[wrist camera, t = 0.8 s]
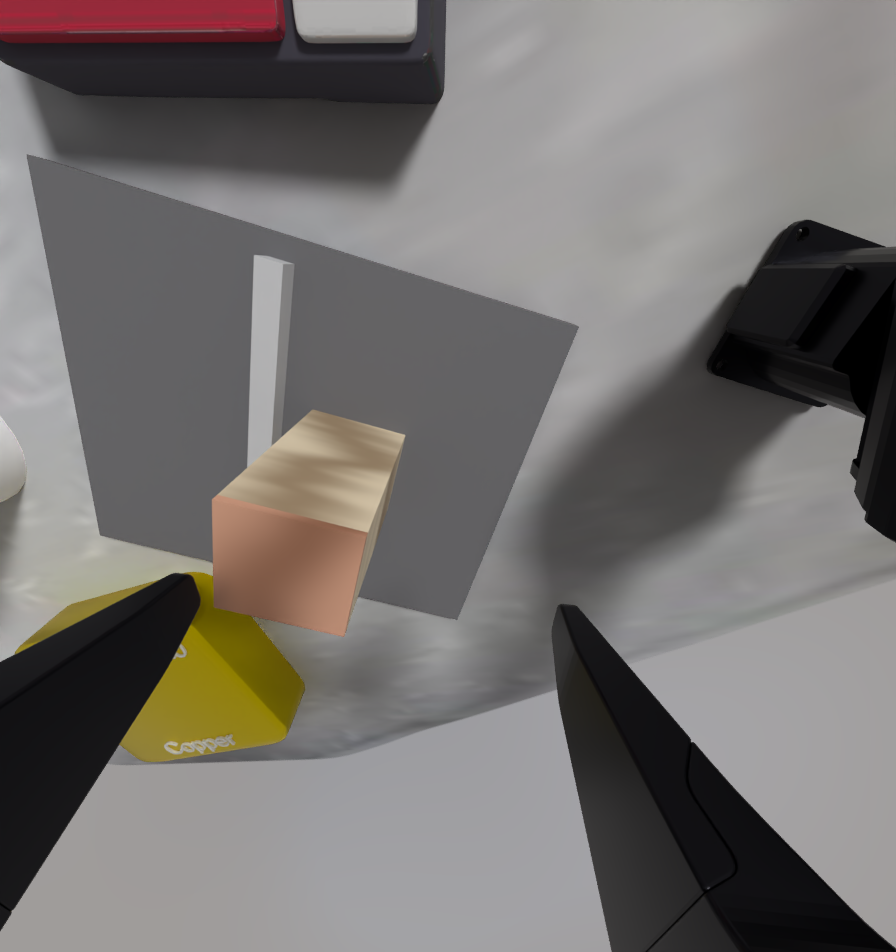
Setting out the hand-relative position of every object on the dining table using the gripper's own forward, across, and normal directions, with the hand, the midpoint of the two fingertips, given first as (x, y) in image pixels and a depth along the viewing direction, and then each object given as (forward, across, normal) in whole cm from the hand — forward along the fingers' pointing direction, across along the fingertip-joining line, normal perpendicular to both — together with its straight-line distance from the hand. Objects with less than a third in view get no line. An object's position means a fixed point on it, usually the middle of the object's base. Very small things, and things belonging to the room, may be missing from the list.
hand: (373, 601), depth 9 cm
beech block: (+12, +4, +3) cm, 13 cm away
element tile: (+13, +19, +22) cm, 32 cm away
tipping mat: (+13, +7, +2) cm, 15 cm away
